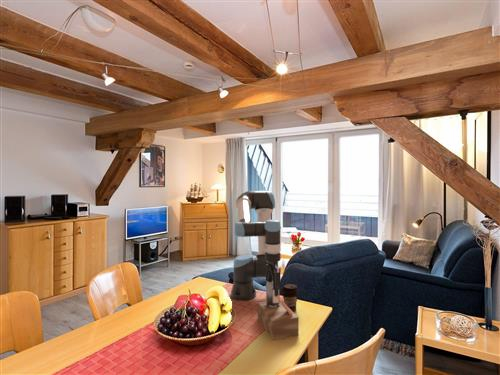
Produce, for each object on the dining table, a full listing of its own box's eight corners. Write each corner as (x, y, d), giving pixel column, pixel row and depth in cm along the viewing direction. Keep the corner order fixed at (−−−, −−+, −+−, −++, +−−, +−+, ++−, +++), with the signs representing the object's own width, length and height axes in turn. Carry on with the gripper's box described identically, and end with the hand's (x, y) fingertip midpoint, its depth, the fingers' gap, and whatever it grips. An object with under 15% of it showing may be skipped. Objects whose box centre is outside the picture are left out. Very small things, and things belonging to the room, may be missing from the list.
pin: (264, 310, 137) (264, 280, 137) (276, 309, 139) (276, 279, 138) (269, 316, 131) (269, 285, 130) (281, 314, 133) (281, 283, 132)
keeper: (276, 296, 126) (277, 295, 127) (286, 311, 128) (288, 309, 128) (280, 301, 122) (282, 299, 122) (291, 315, 123) (293, 314, 124)
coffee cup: (299, 314, 142) (299, 289, 142) (283, 314, 142) (283, 289, 142) (297, 306, 151) (296, 283, 150) (281, 306, 151) (281, 283, 151)
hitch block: (258, 318, 138) (257, 302, 138) (280, 314, 141) (280, 299, 141) (273, 340, 119) (273, 321, 119) (298, 335, 122) (298, 317, 122)
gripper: (258, 248, 142) (259, 293, 143) (273, 257, 124) (273, 309, 124) (272, 247, 145) (272, 291, 145) (288, 256, 126) (288, 306, 126)
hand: (272, 299), depth 135 cm, fingers closed on pin, 6 cm apart
